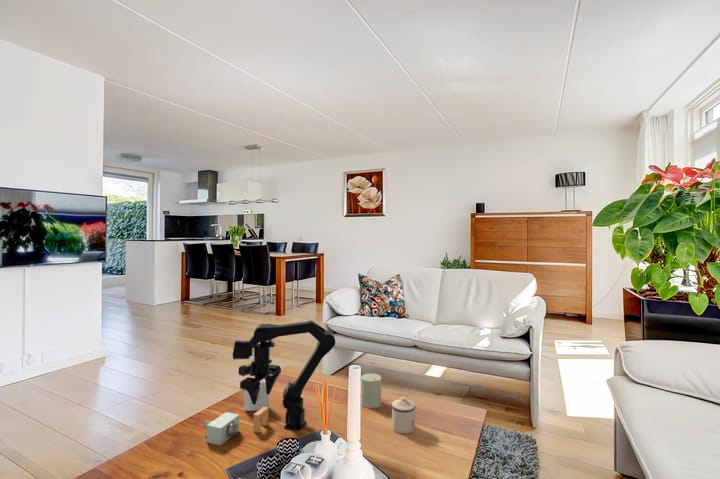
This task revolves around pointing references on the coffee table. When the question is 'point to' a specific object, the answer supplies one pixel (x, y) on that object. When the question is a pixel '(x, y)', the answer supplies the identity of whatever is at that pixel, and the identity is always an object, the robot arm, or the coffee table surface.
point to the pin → (230, 428)
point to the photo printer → (261, 400)
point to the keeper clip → (257, 417)
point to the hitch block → (221, 428)
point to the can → (371, 390)
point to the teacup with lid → (403, 415)
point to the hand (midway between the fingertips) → (261, 399)
